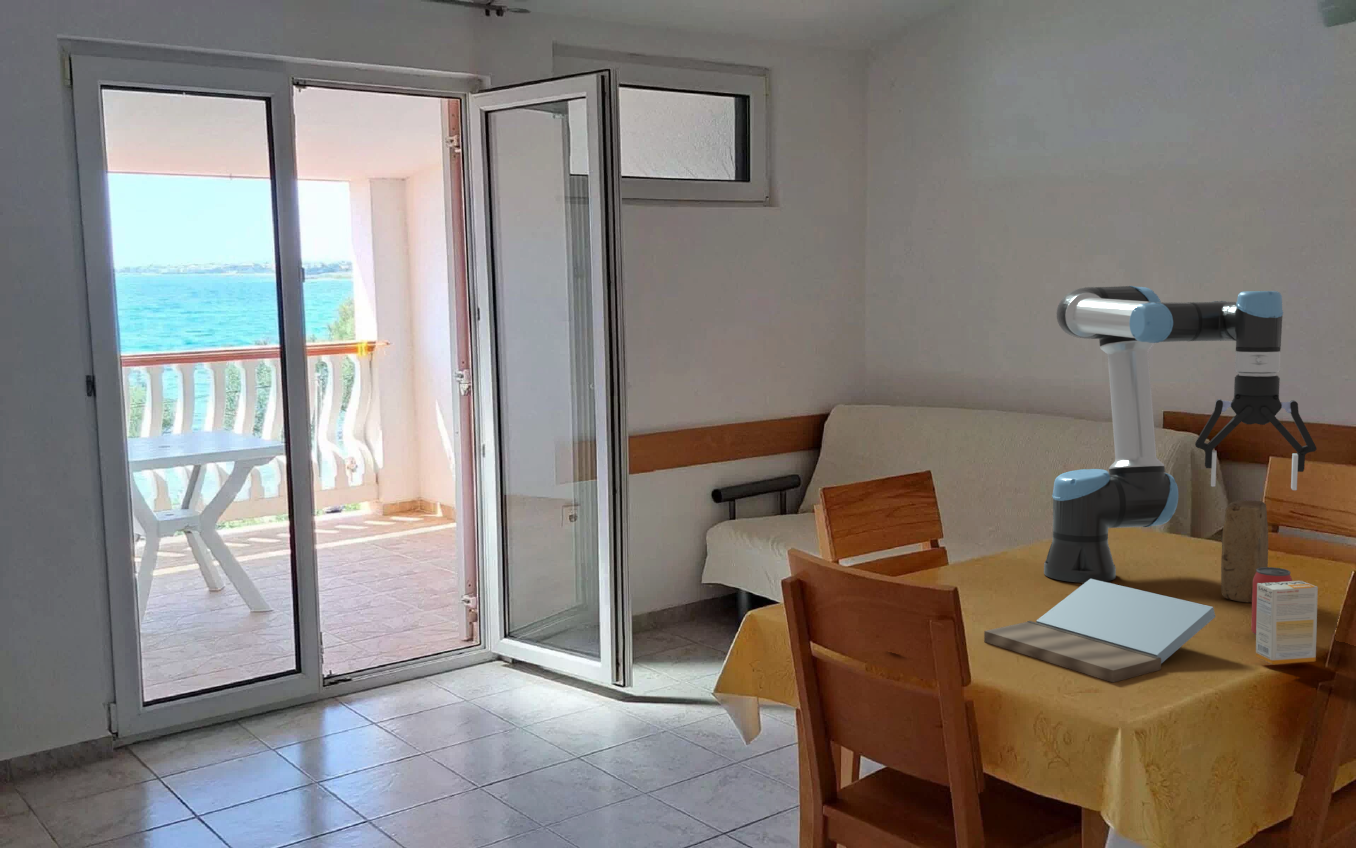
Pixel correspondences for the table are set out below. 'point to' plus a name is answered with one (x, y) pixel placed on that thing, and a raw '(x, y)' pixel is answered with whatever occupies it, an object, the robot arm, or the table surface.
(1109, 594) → the plank
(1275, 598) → the supplement box
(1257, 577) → the beer can
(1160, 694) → the table surface
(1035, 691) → the table surface
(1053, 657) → the floor board
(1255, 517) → the block
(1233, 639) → the table surface
